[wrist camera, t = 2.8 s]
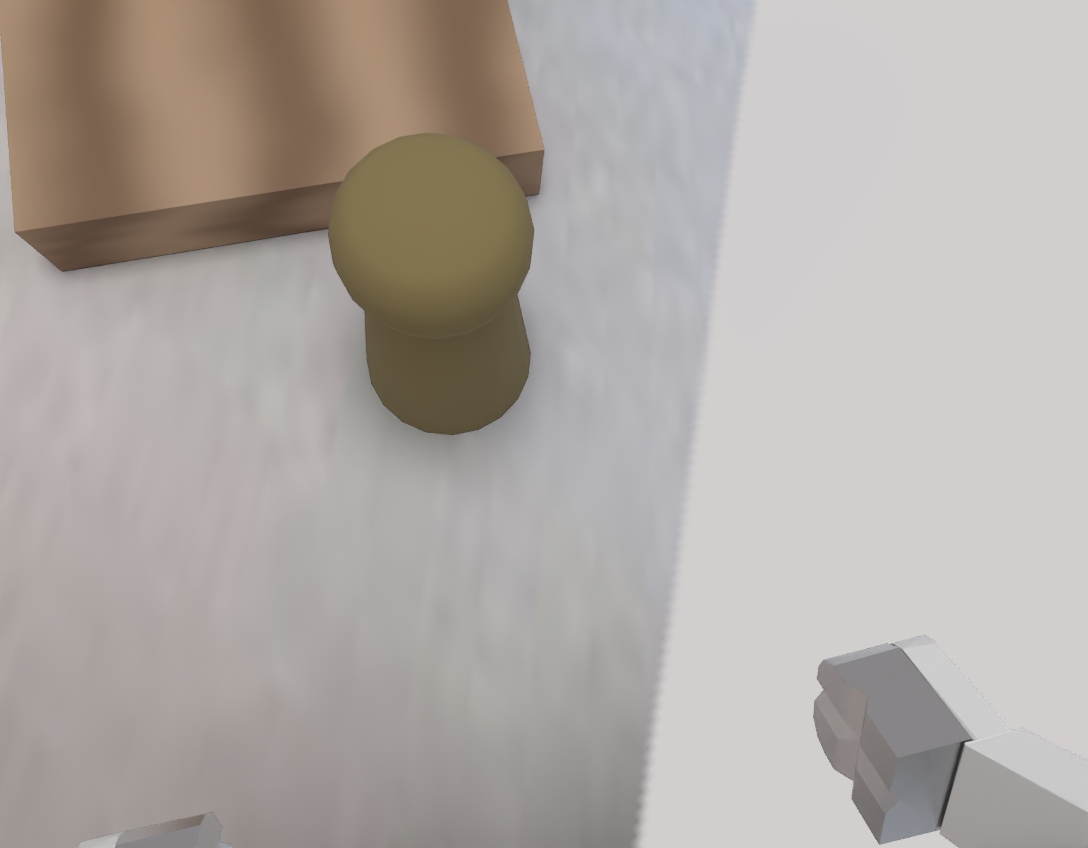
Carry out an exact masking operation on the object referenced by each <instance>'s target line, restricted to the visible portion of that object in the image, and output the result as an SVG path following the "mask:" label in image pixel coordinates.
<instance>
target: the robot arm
mask: <svg viewBox="0 0 1088 848" xmlns="http://www.w3.org/2000/svg"><path fill="white" fill-rule="evenodd" d="M817 680H818V681H819V683H820V684H821V686H822V688H823V689H824V690H823V691H822V692H821V694H820V695H819V696H818V697H817V698H816V700H815V702H814V715H813V718H814V722H815V727H816V731H817V736H818V739H819V741H820V743H821V746H822V748H823V750H824V753H825V754H826V756H827V758H828V760H829V761H830V763H831V765H832V767H833V768H834V769H835V770H836V771H838V772H840V773H841V774H843V775H844V776H846V777H848V778H849V779H851V780H853V790H852V800H853V802H854V804H855V805H856V807H857V809H858V810H859V812H860V814H861V815H862V817H863V819H864V820H865V822H866V824H867V825H868V827H869V829H870V830H871V832H872V833H873V835H874V837H875V839H876V840H877V842H878V843H879V844H884V843H888V842H892V841H896V840H900V839H904V838H909V837H912V836H916V835H921V834H924V833H928V832H933V831H937V830H940V834H941V835H942V836H944V837H945V838H946V839H948V840H949V841H951V842H952V843H953V844H955V845H956V846H957V847H959V848H1088V760H1087V759H1085V758H1082V757H1081V756H1078V755H1076V754H1075V753H1072V752H1071V751H1069V750H1067V749H1065V748H1063V747H1061V746H1058V745H1057V744H1055V743H1053V742H1051V741H1049V740H1047V739H1045V738H1043V737H1041V736H1039V735H1037V734H1035V733H1033V732H1031V731H1029V730H1027V729H1025V728H1019V729H1014V730H1012V729H1011V728H1010V726H1009V725H1008V724H1007V723H1006V722H1005V721H1004V719H1003V718H1002V717H1001V716H1000V715H999V714H998V713H997V711H996V710H995V709H994V708H993V707H992V706H991V704H990V703H989V702H988V701H987V700H986V699H985V698H984V696H983V695H982V694H981V693H980V692H979V691H978V690H977V688H976V687H975V686H974V685H973V684H972V683H971V681H970V680H969V679H968V678H967V677H966V676H965V674H964V673H963V672H962V671H961V670H960V669H959V668H958V666H957V665H956V664H955V663H954V662H953V661H952V660H951V658H950V657H949V656H948V655H947V654H946V653H945V651H944V650H943V649H942V648H941V647H940V646H939V645H938V643H937V642H936V641H935V640H934V639H932V638H930V637H928V636H926V635H924V636H918V637H914V638H910V639H907V640H903V641H899V642H895V643H892V644H883V645H879V646H875V647H872V648H867V649H864V650H860V651H856V652H852V653H848V654H845V655H841V656H838V657H833V658H830V659H826V660H823V661H822V663H821V664H820V665H819V668H818V675H817ZM221 832H222V825H221V824H220V822H219V820H218V819H217V817H216V816H215V814H214V812H209V813H205V814H200V815H196V816H191V817H187V818H182V819H178V820H174V821H169V822H165V823H160V824H156V825H151V826H147V827H143V828H138V829H134V830H129V831H124V832H120V833H115V834H111V835H107V836H103V837H99V838H95V839H91V840H87V841H82V842H81V844H80V845H79V847H78V848H234V847H232V846H230V845H227V844H225V843H222V842H220V839H221Z"/></svg>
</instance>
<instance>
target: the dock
mask: <svg viewBox="0 0 1088 848" xmlns="http://www.w3.org/2000/svg"><path fill="white" fill-rule="evenodd" d="M0 34H1V48H2V62H3V76H4V90H5V104H6V118H7V132H8V146H9V160H10V174H11V188H12V202H13V215H14V229H15V233H16V234H18V235H19V236H20V237H21V238H22V239H24V240H25V241H26V242H27V243H28V244H30V245H31V246H32V247H33V248H34V249H36V250H37V251H38V252H39V253H40V254H42V255H43V256H44V257H45V258H46V259H48V260H49V261H50V262H51V263H52V264H54V265H55V266H56V267H57V268H58V269H60V270H61V271H67V270H74V269H80V268H86V267H92V266H98V265H104V264H111V263H117V262H123V261H129V260H135V259H141V258H148V257H154V256H160V255H166V254H172V253H178V252H184V251H191V250H197V249H203V248H209V247H215V246H221V245H228V244H234V243H240V242H246V241H252V240H258V239H265V238H271V237H277V236H283V235H289V234H295V233H302V232H308V231H314V230H320V229H326V228H329V223H330V217H331V211H332V206H333V200H334V196H335V194H336V192H337V190H338V189H339V187H340V185H341V183H342V182H343V180H344V178H345V176H346V175H347V173H348V171H349V170H350V169H351V168H352V167H354V166H355V165H356V164H357V163H358V162H359V161H360V160H361V159H362V158H364V157H365V156H366V155H367V154H368V153H369V152H370V151H372V150H373V149H374V148H376V147H378V146H380V145H383V144H385V143H387V142H389V141H391V140H393V139H396V138H398V137H401V136H407V135H414V134H420V133H435V134H443V135H451V136H456V137H458V138H461V139H463V140H465V141H468V142H470V143H472V144H475V145H477V146H479V147H482V148H484V149H486V150H487V151H488V152H489V153H491V154H492V155H493V156H494V157H495V158H497V159H498V160H499V161H500V162H502V163H503V164H504V165H505V166H506V167H508V168H509V170H510V172H511V173H512V175H513V176H514V178H515V179H516V181H517V183H518V184H519V186H520V187H521V189H522V190H523V192H524V194H525V196H529V195H536V194H539V190H540V182H541V173H542V165H543V157H544V146H543V142H542V138H541V134H540V130H539V126H538V122H537V118H536V114H535V110H534V106H533V102H532V98H531V94H530V90H529V86H528V82H527V78H526V74H525V70H524V66H523V62H522V58H521V54H520V50H519V46H518V42H517V38H516V34H515V30H514V26H513V22H512V18H511V14H510V10H509V6H508V1H507V0H0Z"/></svg>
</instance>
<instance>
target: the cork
mask: <svg viewBox="0 0 1088 848" xmlns="http://www.w3.org/2000/svg"><path fill="white" fill-rule="evenodd" d="M533 236H534V227H533V223H532V219H531V215H530V210H529V206H528V202H527V199H526V197H525V194H524V192H523V190H522V189H521V187H520V186H519V184H518V183H517V181H516V179H515V178H514V176H513V175H512V173H511V172H510V170H509V168H508V167H506V166H505V165H504V164H503V163H502V162H500V161H499V160H498V159H497V158H495V157H494V156H493V155H492V154H491V153H489V152H488V151H487V150H486V149H484V148H482V147H479V146H477V145H475V144H472V143H470V142H468V141H465V140H463V139H461V138H458V137H456V136H451V135H443V134H435V133H420V134H414V135H407V136H401V137H398V138H396V139H393V140H391V141H389V142H387V143H385V144H383V145H380V146H378V147H376V148H374V149H373V150H372V151H370V152H369V153H368V154H367V155H366V156H365V157H364V158H362V159H361V160H360V161H359V162H358V163H357V164H356V165H355V166H354V167H352V168H351V169H350V170H349V171H348V173H347V175H346V176H345V178H344V180H343V182H342V183H341V185H340V187H339V189H338V190H337V192H336V194H335V196H334V200H333V206H332V211H331V217H330V223H329V231H328V237H329V243H330V249H331V254H332V260H333V265H334V267H335V269H336V271H337V273H338V275H339V277H340V279H341V280H342V282H343V284H344V286H345V287H346V289H347V291H348V293H349V294H350V296H351V298H352V300H353V301H354V302H356V303H357V304H358V305H359V306H360V307H361V308H362V309H364V312H365V332H366V352H367V363H368V368H369V374H370V379H371V384H372V385H373V387H374V389H375V391H376V392H377V394H378V396H379V398H380V399H381V401H382V403H383V405H384V406H385V407H387V408H388V409H389V410H390V411H391V412H392V413H393V414H394V415H396V416H397V417H398V418H399V419H400V420H401V421H402V422H404V423H407V424H409V425H411V426H413V427H416V428H418V429H420V430H423V431H425V432H430V433H439V434H449V435H454V434H459V433H464V432H469V431H474V430H479V429H480V428H482V427H484V426H486V425H488V424H489V423H491V422H493V421H495V420H497V419H498V418H500V417H501V416H502V415H503V414H504V413H505V412H506V411H507V410H508V409H509V408H510V407H511V406H512V405H513V404H514V403H515V401H516V400H517V399H518V398H519V395H520V393H521V391H522V389H523V387H524V385H525V382H526V380H527V378H528V373H529V363H530V354H531V352H530V348H529V344H528V339H527V335H526V330H525V326H524V322H523V317H522V313H521V308H520V304H519V300H518V295H517V294H518V292H519V290H520V288H521V286H522V283H523V281H524V279H525V277H526V275H527V273H528V271H529V269H530V263H531V255H532V246H533Z"/></svg>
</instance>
